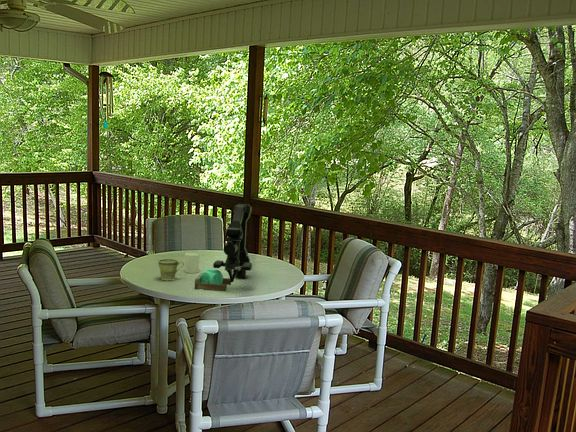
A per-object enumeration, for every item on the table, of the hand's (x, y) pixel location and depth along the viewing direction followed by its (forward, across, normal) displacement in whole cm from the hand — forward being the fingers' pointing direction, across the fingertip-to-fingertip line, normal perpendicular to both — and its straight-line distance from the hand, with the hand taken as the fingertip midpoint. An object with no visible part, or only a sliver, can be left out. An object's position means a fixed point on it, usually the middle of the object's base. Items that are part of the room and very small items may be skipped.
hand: (232, 282), depth 276 cm
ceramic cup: (+3, -34, +7) cm, 35 cm away
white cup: (+3, -28, +26) cm, 39 cm away
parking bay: (+3, -10, 0) cm, 10 cm away
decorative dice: (+3, -10, 0) cm, 11 cm away
